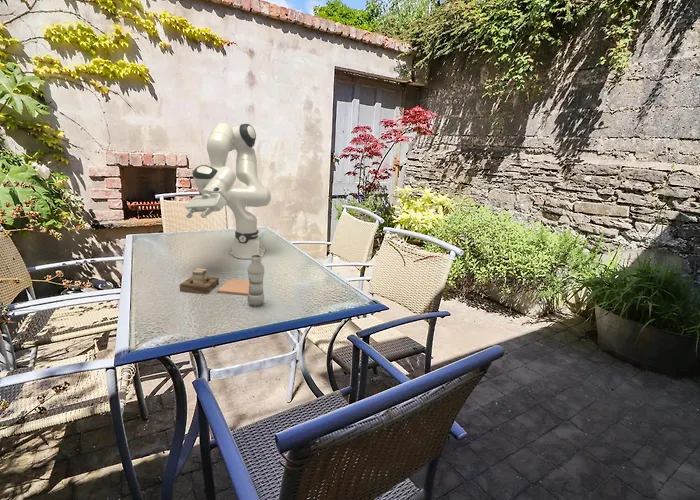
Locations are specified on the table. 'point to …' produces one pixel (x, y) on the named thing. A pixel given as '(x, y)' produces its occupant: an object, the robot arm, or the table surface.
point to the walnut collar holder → (199, 285)
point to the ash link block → (199, 276)
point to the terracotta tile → (235, 287)
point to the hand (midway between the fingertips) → (195, 217)
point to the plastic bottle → (255, 281)
